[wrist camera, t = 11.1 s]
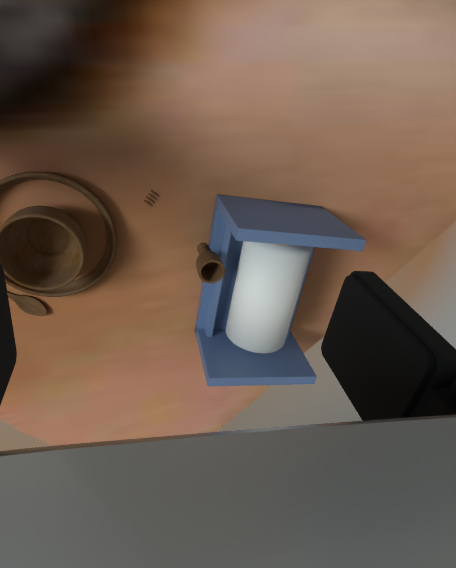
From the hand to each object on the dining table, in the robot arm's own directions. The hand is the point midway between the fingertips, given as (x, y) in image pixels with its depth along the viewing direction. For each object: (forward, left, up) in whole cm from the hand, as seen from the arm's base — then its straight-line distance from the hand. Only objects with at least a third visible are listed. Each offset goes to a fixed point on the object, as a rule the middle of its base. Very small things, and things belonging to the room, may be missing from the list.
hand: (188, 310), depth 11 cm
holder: (+12, +12, -27) cm, 32 cm away
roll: (+12, +12, -26) cm, 31 cm away
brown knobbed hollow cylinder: (+11, -5, -28) cm, 30 cm away
